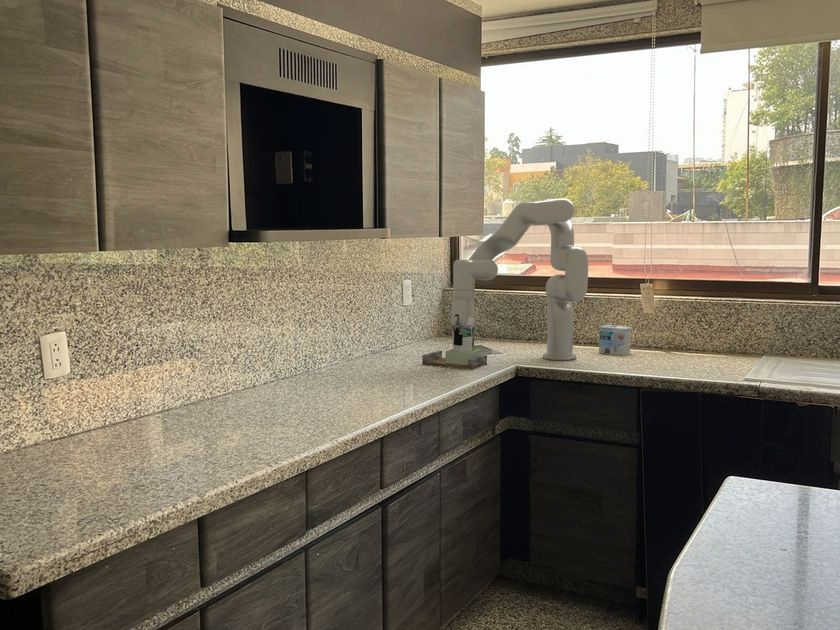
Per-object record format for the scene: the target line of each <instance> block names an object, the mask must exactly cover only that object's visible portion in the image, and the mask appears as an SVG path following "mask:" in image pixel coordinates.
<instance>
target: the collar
mask: <svg viewBox="0 0 840 630" xmlns="http://www.w3.org/2000/svg"><path fill="white" fill-rule="evenodd" d="M481 355H482V349H480V348H474V351H472V352H469V353H467V352H456V351H453V348H451V349H448V350H445V358H446V363H449V364H458V365H468V360H469V359H472V358H475V357H478V356H481Z"/></svg>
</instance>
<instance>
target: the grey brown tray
mask: <svg viewBox="0 0 840 630" xmlns="http://www.w3.org/2000/svg"><path fill="white" fill-rule="evenodd" d="M421 356H422V357H421V358H422V359H421V361H422V362H421V364H423V365H422V366H430V365H432V366H431V367H439V366H441V367H442V368H448V367H451V369H457V368H459V370H460V369H461V370H466V369H469V371H474V370H475V369H479V368H481V366H482V367H484V365H485V366H487V365H488V355H487V354H481V356H478V357H475V358H472V359H469V360H468V365H458V364H449V363H446V357H443V351H442V350H436V351H435V350H434V351H431V352H429V353H426V354H422V355H421ZM441 367H440V368H441ZM478 367H479V368H478ZM473 369H474V370H473Z"/></svg>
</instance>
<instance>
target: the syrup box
mask: <svg viewBox="0 0 840 630" xmlns="http://www.w3.org/2000/svg"><path fill="white" fill-rule="evenodd" d="M458 325H461V323H460V324H458ZM458 329H460V328H458ZM461 334H463V340H462V346H459V345H454V334H453V333H452V349H453V351H456V352H467V353H469V352H472V351H474V349H475V323H474V318H473V317H470V318H468V321H467V325H466V326H465V327H463V329H462V333H461Z"/></svg>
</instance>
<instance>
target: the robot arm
mask: <svg viewBox="0 0 840 630" xmlns="http://www.w3.org/2000/svg"><path fill="white" fill-rule="evenodd" d="M574 215H575V206H574V204H573V202H572V201H571V200H570V199H568V198H548V199H547V198H546V199H544V200H539V201H523V202H519V203H518V204H517V205H516V206H514V208H513V210H512V211H511V212H510V214H509V215H508V216H507V218H506V219H505V220H504V222H503V223H502V224H501V225H500V226H499V228H498V229H497V230H496V231H495V232H494V233H492V235H490V237H489V238H487V239H486V240H485V241H483V242H482V243H481V244H480V245H479V246H478V247H477V248H476V249H475V251H474V252H473V253H472V255H471V256H470V257H469V259H456V260H455V261H454V262H453V272H452V273H453V281H452V282H453V286H452V287H453V288H452V289H453V291H452V293H453V294H452V295H453V296H452V304H451V312H450V313H451V316H450V325H451V328H452V329H451V330H452V335H453V334H454V345H459V346H462V340H463V334H461V333H462V329H463V327H465V326H466V325H467V321H468V318H470V317H473V318H474V324H475V322H476V318H475V317H476V316H475V312H476V311H475V287H476V286H475V284H476V283H475V281H476V280H481V281H491V280H492V279H494V278H496V276H497V275H498V272H499V267H498V264H497V263H496V262H495V261H494V259H495V258H496V257H497V256H498V255H500V254H503V253H505V252H507V251H509V250H511V249H512V248H515V247H516V246H517V245H518V243H519V241H520V240H521V239H522V237H524V235H525V233H527V231H528V230H529V229H530V227H531V226H547V227H548V229H549V232H550V265H551V267H552V268H553V269H554V270H557V271H559V272H564V274H562V273H561V274H554V275H552V276H550V277H549V279H548V280H547V281H546V284H545V294H546V300H547V301H546V302H547V323H546V324H547V328H546V329H547V331H546V332H547V333H546V336H547V337H546V338H547V339H546V340H547V341H546V352H544V353H543V354H542V359H543V358H544V360H545V359H546V360H551V361H573V360H576V359H577V354H575V353H573V349H574V346H573V343H574V342H573V339H574V338H573V336H574V333H573V332H574V331H573V330H574V307H573V303H577V302H580V301H583V299H584V298H585V296H586V294H587V292H588V284H589V283H588V282H589V257H588V254H587V252H586V250H584V249H583V248H582V247H580V246H575V231H574V230H575V229H574V226H573V223H572V221H571V219H572V218H573V217H574ZM460 323H461V325H458V324H460ZM458 328H460V329H458Z"/></svg>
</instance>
